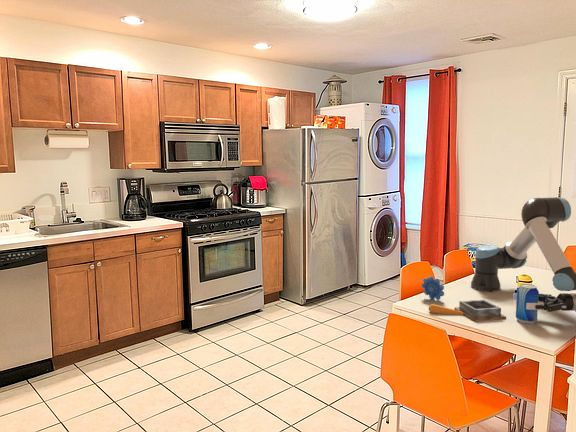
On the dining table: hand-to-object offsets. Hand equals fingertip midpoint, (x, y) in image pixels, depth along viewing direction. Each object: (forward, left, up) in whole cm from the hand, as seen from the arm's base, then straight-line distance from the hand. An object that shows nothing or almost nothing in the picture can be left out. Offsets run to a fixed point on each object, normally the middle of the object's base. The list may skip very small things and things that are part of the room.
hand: (519, 301), depth 198 cm
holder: (+12, -11, -9) cm, 19 cm away
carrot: (+25, -14, -10) cm, 30 cm away
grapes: (+23, -35, -9) cm, 43 cm away
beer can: (-3, +1, -9) cm, 10 cm away
